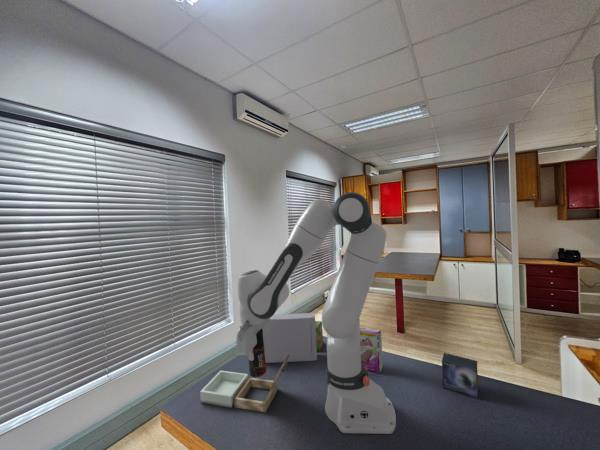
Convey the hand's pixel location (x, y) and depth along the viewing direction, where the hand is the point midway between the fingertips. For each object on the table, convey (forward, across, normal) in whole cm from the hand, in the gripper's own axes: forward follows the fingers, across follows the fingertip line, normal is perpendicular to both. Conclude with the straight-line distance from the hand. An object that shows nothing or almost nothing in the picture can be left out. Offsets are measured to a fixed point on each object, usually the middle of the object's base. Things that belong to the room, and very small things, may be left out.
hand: (256, 353), depth 89 cm
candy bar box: (+18, +26, -38) cm, 49 cm away
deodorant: (+7, 0, 0) cm, 7 cm away
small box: (+20, +19, -70) cm, 75 cm away
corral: (+16, 0, +1) cm, 16 cm away
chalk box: (+17, +39, -10) cm, 44 cm away
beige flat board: (+8, 0, -7) cm, 11 cm away
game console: (+17, +26, -2) cm, 31 cm away
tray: (+16, 0, +14) cm, 21 cm away
